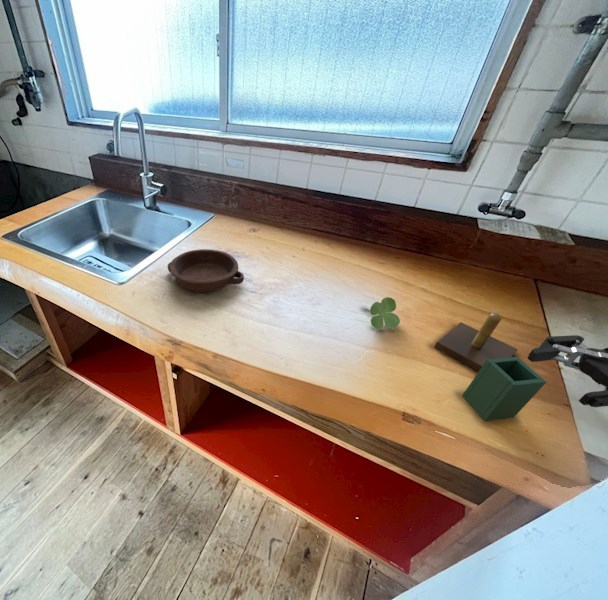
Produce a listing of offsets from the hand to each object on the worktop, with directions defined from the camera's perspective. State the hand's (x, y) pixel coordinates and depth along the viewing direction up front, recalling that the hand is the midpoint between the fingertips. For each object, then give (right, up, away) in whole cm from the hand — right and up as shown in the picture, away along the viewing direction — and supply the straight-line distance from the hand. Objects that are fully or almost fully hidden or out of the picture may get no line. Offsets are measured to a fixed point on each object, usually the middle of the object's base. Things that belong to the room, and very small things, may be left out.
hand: (556, 376), depth 50 cm
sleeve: (-8, -6, +3) cm, 10 cm away
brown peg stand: (-2, +2, +13) cm, 14 cm away
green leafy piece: (-16, +7, +22) cm, 28 cm away
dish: (-55, +17, +38) cm, 69 cm away
